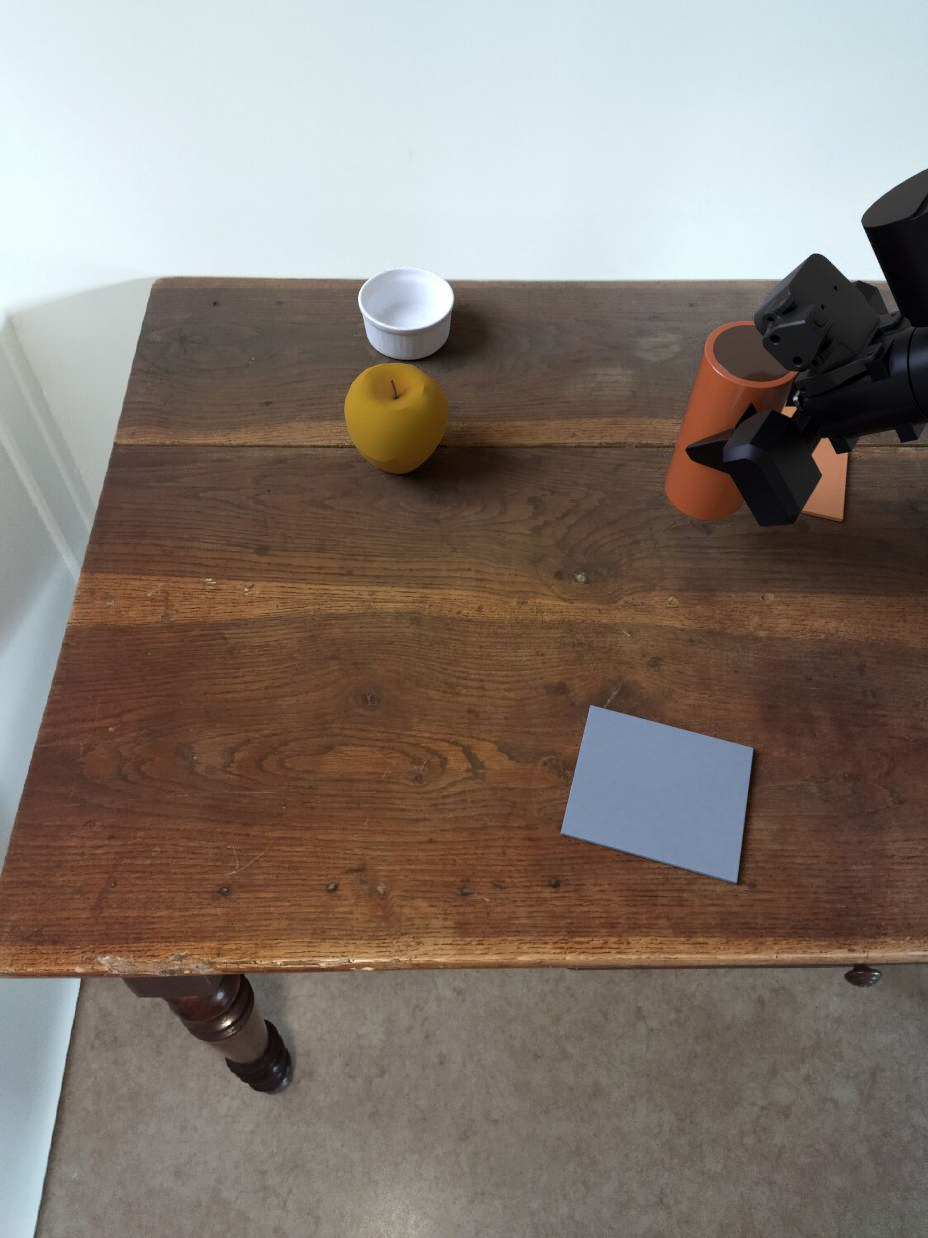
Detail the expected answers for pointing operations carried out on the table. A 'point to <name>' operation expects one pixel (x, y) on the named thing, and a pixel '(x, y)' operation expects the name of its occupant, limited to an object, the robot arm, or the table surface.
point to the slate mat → (660, 793)
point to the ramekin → (406, 312)
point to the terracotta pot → (723, 415)
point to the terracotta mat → (826, 480)
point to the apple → (396, 416)
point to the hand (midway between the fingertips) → (709, 424)
